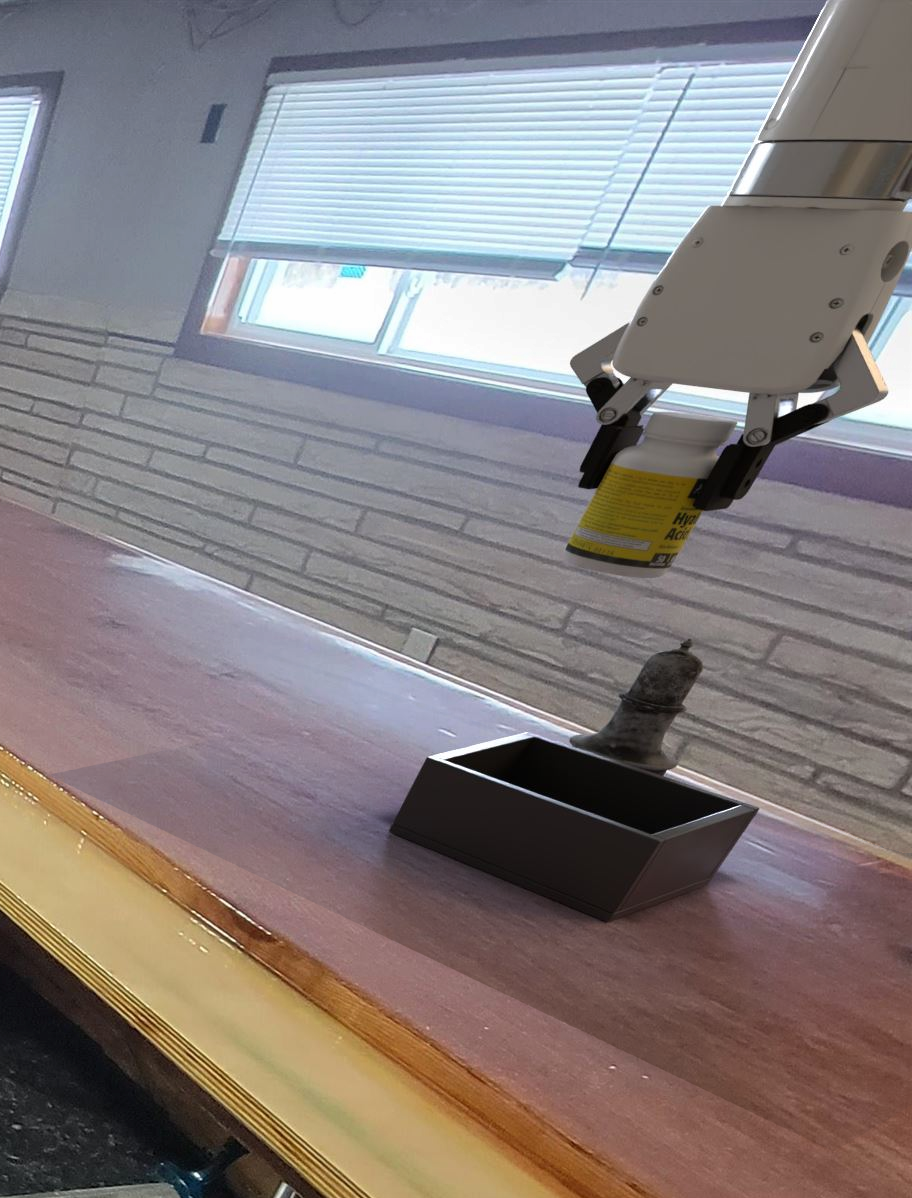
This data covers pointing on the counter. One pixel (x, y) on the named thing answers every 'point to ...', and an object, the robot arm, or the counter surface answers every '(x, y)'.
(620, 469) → the supplement bottle
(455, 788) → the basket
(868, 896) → the counter surface
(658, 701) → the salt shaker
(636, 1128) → the counter surface
